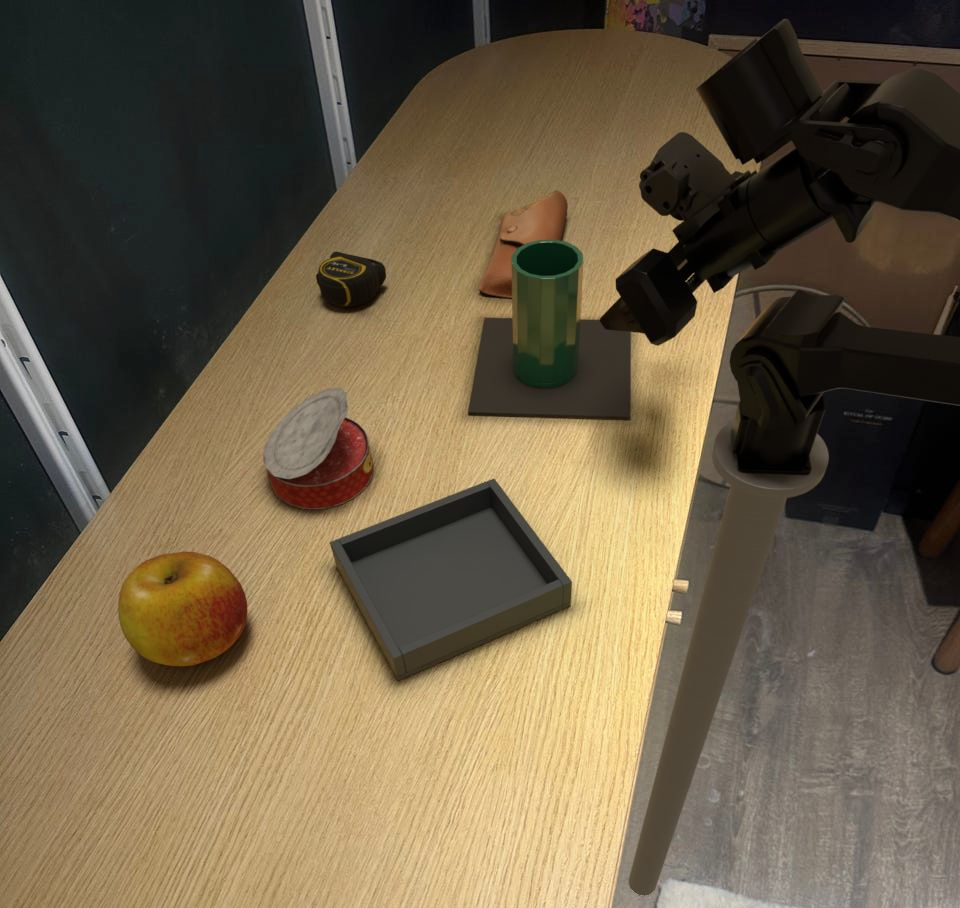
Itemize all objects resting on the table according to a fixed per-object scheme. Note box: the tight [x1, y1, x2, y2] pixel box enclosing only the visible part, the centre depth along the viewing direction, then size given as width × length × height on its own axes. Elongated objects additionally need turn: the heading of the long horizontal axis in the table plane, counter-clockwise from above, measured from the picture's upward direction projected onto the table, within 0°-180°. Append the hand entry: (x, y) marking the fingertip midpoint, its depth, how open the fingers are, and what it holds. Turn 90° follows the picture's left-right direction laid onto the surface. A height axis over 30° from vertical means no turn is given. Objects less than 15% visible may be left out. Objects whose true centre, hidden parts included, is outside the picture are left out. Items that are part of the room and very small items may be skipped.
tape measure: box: [315, 251, 387, 307], centre depth 97 cm, size 7×7×4 cm
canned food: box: [262, 386, 375, 510], centre depth 79 cm, size 11×10×10 cm
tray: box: [329, 478, 573, 682], centre depth 71 cm, size 16×14×3 cm
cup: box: [511, 239, 584, 388], centre depth 83 cm, size 7×7×12 cm
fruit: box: [117, 551, 248, 667], centre depth 67 cm, size 10×9×8 cm
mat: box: [467, 317, 632, 421], centre depth 89 cm, size 16×16×1 cm
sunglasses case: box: [478, 189, 569, 300], centre depth 100 cm, size 18×7×7 cm, turn 171°
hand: (629, 298), depth 77 cm, fingers open, 9 cm apart
